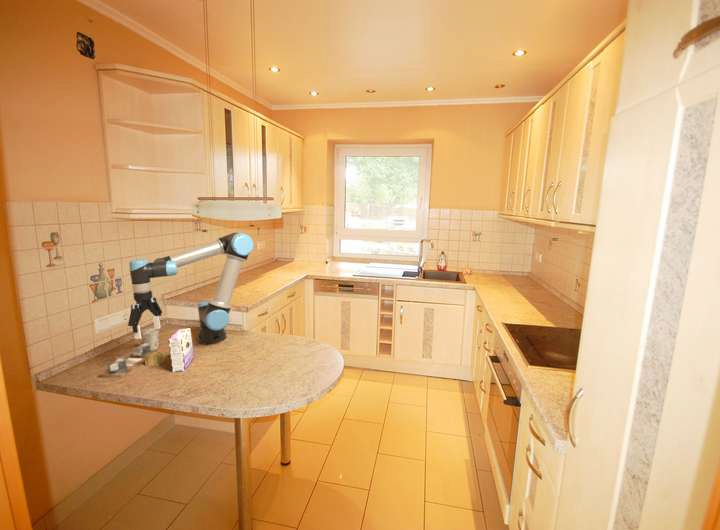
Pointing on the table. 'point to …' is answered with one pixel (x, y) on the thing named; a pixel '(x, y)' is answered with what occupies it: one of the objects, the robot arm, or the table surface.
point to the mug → (150, 338)
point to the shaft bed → (127, 362)
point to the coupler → (154, 358)
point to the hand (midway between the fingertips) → (148, 333)
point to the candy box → (181, 350)
